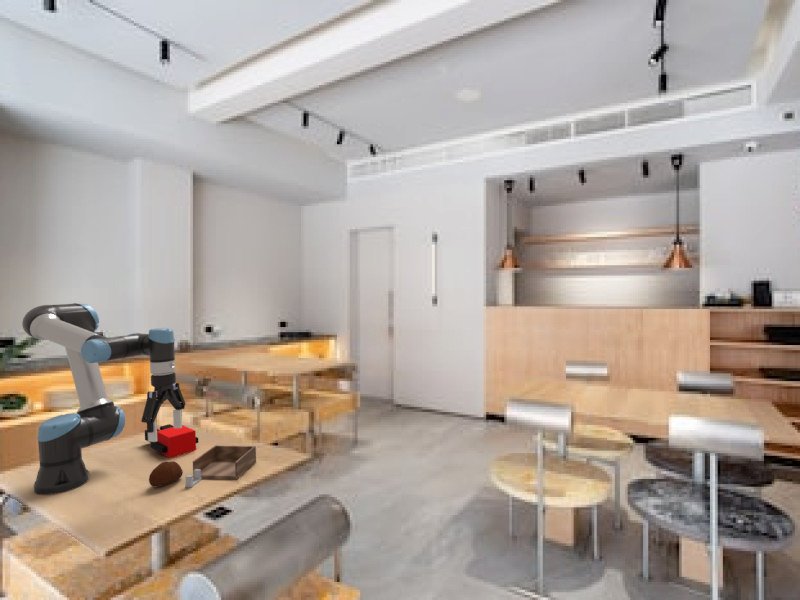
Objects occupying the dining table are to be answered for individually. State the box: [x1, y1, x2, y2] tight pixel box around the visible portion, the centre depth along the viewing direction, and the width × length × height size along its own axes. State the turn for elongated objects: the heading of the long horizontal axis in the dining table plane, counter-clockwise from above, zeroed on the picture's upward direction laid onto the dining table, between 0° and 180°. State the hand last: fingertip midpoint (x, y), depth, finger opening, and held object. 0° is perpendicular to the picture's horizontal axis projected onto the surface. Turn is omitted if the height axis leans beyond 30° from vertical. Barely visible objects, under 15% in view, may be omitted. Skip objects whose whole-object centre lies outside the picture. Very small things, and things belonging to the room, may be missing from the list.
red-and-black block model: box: [144, 423, 199, 459], centre depth 186 cm, size 15×8×25 cm
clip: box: [184, 469, 202, 488], centre depth 151 cm, size 2×6×4 cm, turn 174°
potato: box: [148, 460, 184, 488], centre depth 151 cm, size 8×12×8 cm, turn 157°
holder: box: [192, 445, 257, 481], centre depth 162 cm, size 16×15×6 cm
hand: (165, 434), depth 151 cm, fingers open, 13 cm apart
